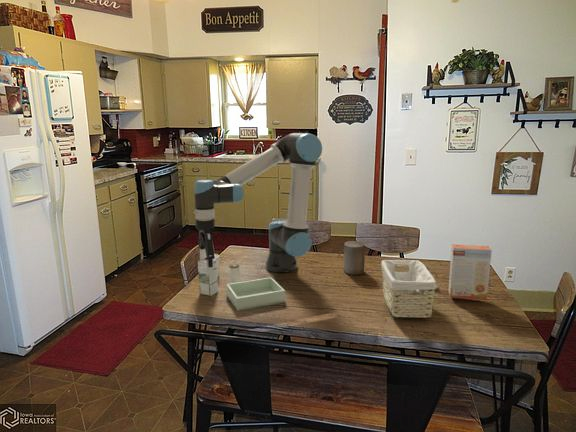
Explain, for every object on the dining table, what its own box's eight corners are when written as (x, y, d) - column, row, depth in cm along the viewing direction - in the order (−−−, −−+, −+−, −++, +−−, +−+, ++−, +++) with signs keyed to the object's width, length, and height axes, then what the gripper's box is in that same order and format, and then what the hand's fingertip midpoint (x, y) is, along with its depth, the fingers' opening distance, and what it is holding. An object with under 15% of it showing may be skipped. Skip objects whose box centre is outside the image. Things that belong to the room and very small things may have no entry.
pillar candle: (367, 270, 197) (368, 240, 194) (359, 276, 189) (360, 245, 186) (348, 266, 202) (349, 237, 199) (340, 272, 194) (340, 242, 191)
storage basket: (435, 320, 147) (438, 281, 144) (389, 319, 148) (391, 280, 145) (418, 293, 170) (420, 259, 167) (378, 292, 171) (380, 259, 168)
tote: (271, 288, 176) (271, 277, 175) (285, 302, 162) (285, 290, 161) (226, 295, 169) (226, 284, 168) (237, 311, 155) (236, 298, 154)
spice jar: (238, 283, 182) (238, 262, 180) (242, 287, 178) (241, 266, 176) (227, 284, 180) (227, 264, 178) (230, 289, 176) (229, 267, 174)
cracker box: (484, 294, 168) (489, 245, 164) (487, 300, 163) (492, 250, 158) (447, 291, 172) (451, 243, 167) (449, 297, 166) (453, 247, 161)
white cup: (216, 280, 186) (215, 259, 183) (200, 279, 187) (198, 258, 185) (222, 274, 193) (221, 254, 191) (206, 273, 195) (205, 253, 192)
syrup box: (218, 291, 173) (217, 258, 170) (210, 296, 168) (208, 263, 165) (207, 289, 176) (205, 257, 173) (199, 294, 171) (197, 261, 167)
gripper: (190, 213, 175) (192, 261, 179) (201, 226, 152) (203, 280, 157) (207, 212, 178) (209, 259, 182) (221, 224, 155) (222, 277, 160)
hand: (206, 269), depth 169 cm, fingers open, 13 cm apart
